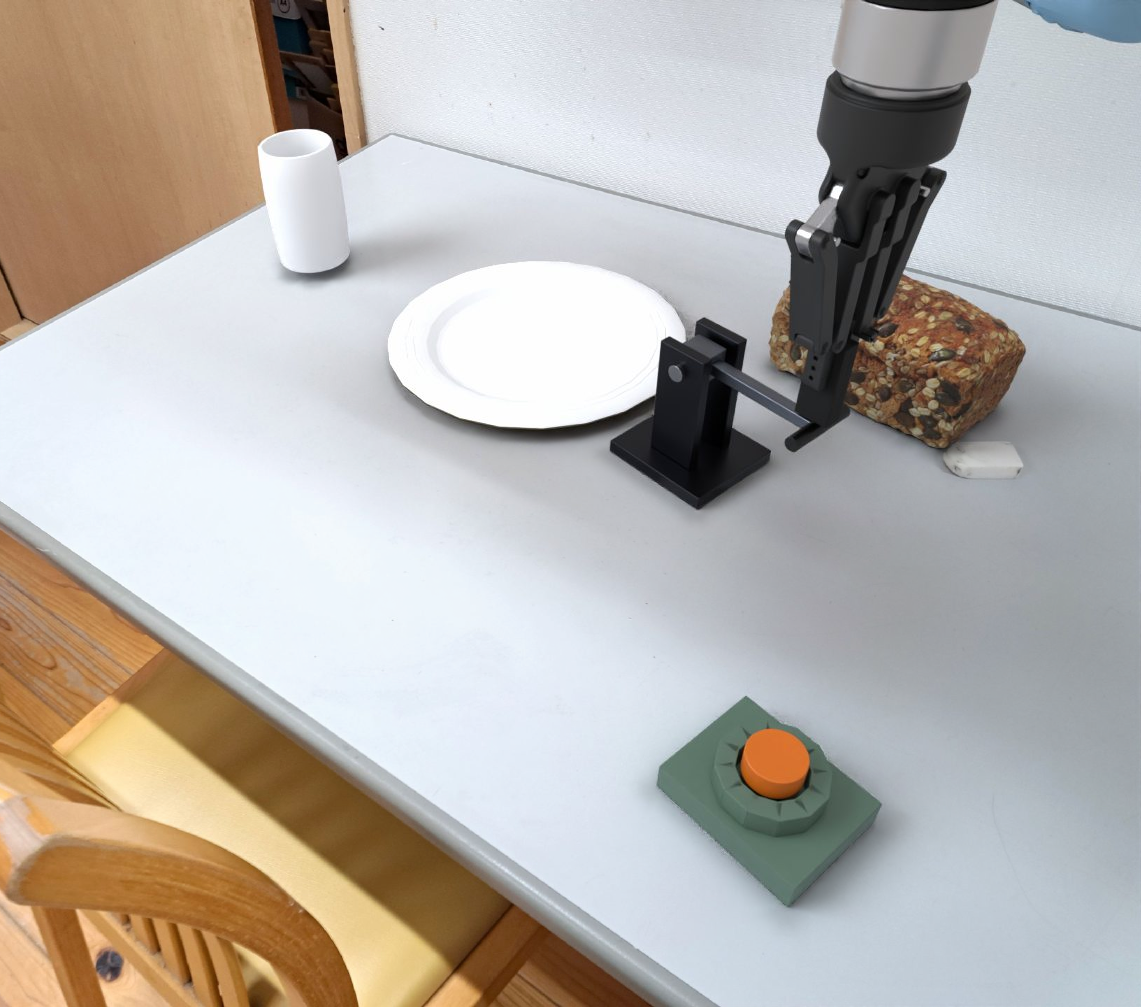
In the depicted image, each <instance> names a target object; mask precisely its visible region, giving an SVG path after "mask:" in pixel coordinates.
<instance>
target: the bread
mask: <svg viewBox="0 0 1141 1007" xmlns="http://www.w3.org/2000/svg"><path fill="white" fill-rule="evenodd" d="M789 309H790V280H788V286H787V287H786V289H785V290H783V291H782V296H781V297H780V299H779V300H778V302H777V305H776V307H775V309H774V312H773V315H772V317H771V321H772V322H771V323H772V325H771V328H770V338H769V340H768V343H767V344H768V346H769V356H770V357H769V358H770V362H771V363H772V364H773V365H774V366H775V367H776V368H777V369H778V371H779V372H786V371H787V372H789V373H791V374H792V375H794V376H796V377H797V378H798V379H800V380H801V379H802V374H803V371H804V366H805V361H806V356H807V352H808V349H806V348H804V347H802V346H800V345H798V344H796V343H794V342H792V341H790V340H789ZM870 327H872V328H874V329H877V330H879V331H880V333H879V335H878V337H877V338H876V340H875V341H874V342H872V343H869V342H867V341H865V340H863V339H861V338H860V339H859V346H858V350H857V354H856V358H855V361H854V365H853V369H852V373H851V376H850V380H849V384H848V388H847V391H846V395H845V399H844V403H845V404H846V405H847V406H848V407H849V408H850V409H853V410H855V411H856V412H858V413H860V414H862V415H863V416H866V417H868V418H870V419H872V420H874V422H877V423H880V424H885V425H887V426H890V427H892V428H893V429H895V430H897V429H899V430H900V431H901V432H902V433H903V434H907V435H912V436H913V437H915V438H917V439H918V440H920V441H923V442H924V443H925V444H927V445H928V446H929V447H933V448H937V449H938V448H939V449H945V448H949V446H951V444H952V443H953V442H956V441H959V439H961V438H962V437H963V435H964V434H965V433H966V432H967V430H968V429H970V428H972V427H973V426H974V425H975V424H976V423H977V422H981V421H983V420H984V419H985V418H986V417H988V415H990V414H991V413H993V412H994V410H995V409H996V408H997V407H998V406H999V404H1000V403H1001V401H1002V400H1003V398H1004V397H1005V395H1006V394H1007V392H1008V391H1009V390H1010V388H1011V385H1012V383H1013V381H1014V380H1015V377H1016V375H1017V372H1018V370H1019V367H1020V366H1021V364H1022V363H1023V359H1024V357H1025V355H1026V353H1027V349H1026V345H1025V344H1024V342H1023V341H1022V340H1021V338H1020V337H1019V333H1018V332H1016V331H1015V330H1013V329H1011V328H1010V327H1009V326H1008V324H1007V323H1006V322H1005V321H1003V319H1001V318H996V317H995V316H993V315H991V314H990V313H989V312H987V311H984V310H983V309H981V308H980V307H978V306H976V305H975V304H973V303H971V302H969V301H968V300H967V299H964V298H963V297H961V296H960V295H957V294H955V293H952V292H950V291H948V290H945V289H941V288H938V287H935V286H933V285H930V284H928V283H927V282H924V281H923V282H922V281H920V280H918V279H913V278H912V277H910V276H908V275H907V274H904V273H903V274H902V277H901V279H900V282H899V284H898V287H897V289H896V291H895V294H894V296H893V299H892V301H891V304H890V306H889V309H888V311H887V313H886V315H885V316H884V317H883V318H882V319H880V320H878V319H876V318H873V319H872V322H871V326H870Z"/></svg>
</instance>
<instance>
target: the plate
mask: <svg viewBox="0 0 1141 1007" xmlns="http://www.w3.org/2000/svg"><path fill="white" fill-rule="evenodd" d="M668 336H670V337H672V338H674V339H676V340H678V341H679V342H681V343H684V342H685V341H687V338H686V328H685V326H684V324H683V322H682V320H681V318H680V316H679V315H678V313H677V311H676V309H675V307H673V306H672V305H671V304H670V303H669V302H668V301H667V300H665V299H664V298H663V297H662V296H661V295H660V294H659V293H658V292H657V291H656V290H654V289H652V288H651V287H648V286H647V285H645V284H643V283H641V282H639V281H637V280H636V279H634V278H633V277H630V276H628V275H624V274H621V273H619V272H615V271H612V270H609V269H605V268H602V267H599V266H595V265H588V264H582V263H581V264H580V263H575V262H570V261H569V262H568V261H553V260H552V261H550V260H549V261H548V260H527V261H517V262H507V263H500V264H492V265H489V266H485V267H481V268H477V269H473V270H469V271H466V272H461V273H460V274H458V275H455V276H453V277H450V278H449V279H446V280H444V281H441V282H440V283H437V284H434V285H432V286H431V287H430V288H428V289H427V290H425V291H424V292H423V293H421V294H420V295H418V296H417V297H416V298H414V299H412V300H411V301H410V302H409V303H408V304H407V306H406V307H405V308H404V309H403V310H402V311H401V312H400V314H399V315H398V316H397V317H396V318H395V319H394V322H393V325H392V327H391V330H390V333H389V336H388V338H387V350H388V361H389V365H390V367H391V369H392V370H393V373H395V376H396V377H397V378H398V380H399V382H400V383H401V385H402V387H404V389H406V390H407V391H408V392H410V393H411V394H412V395H414V396H415V397H416V398H417V399H419V401H421V402H422V403H424V404H425V405H426V406H428V407H430V408H433V409H436V410H438V411H440V412H442V413H444V414H447V415H449V416H451V417H454V418H456V419H458V420H461V421H465V422H471V423H474V424H480V425H484V426H488V427H493V428H498V429H514V430H515V429H516V430H536V431H546V430H552V429H563V428H570V427H577V426H586V425H589V424H594V423H596V422H599V421H602V420H606V419H609V418H611V417H616V416H619V415H623V414H625V413H627V412H629V411H630V410H632V409H634V408H636V407H637V406H640V405H641V404H643V403H645V402H647V401H648V400H650V399H652V398H653V397H655V396H656V386H657V376H658V365H659V355H660V344H661V340H663V339H665V338H667V337H668Z"/></svg>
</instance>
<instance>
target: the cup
mask: <svg viewBox="0 0 1141 1007" xmlns="http://www.w3.org/2000/svg"><path fill="white" fill-rule="evenodd" d="M257 154H258V162H259V171H260V177H261V184H262V190H263V195H264V199H265V200H264V201H265V204H266V209H267V214H268V218H269V221H270V222H269V223H270V226H271V230H272V234H273V238H274V242H275V246H276V249H277V252H278V257H279V259H280V263H281V264H282V266H283V267H284V268H286V269H287V270H289V271H292V272H295V273H301V274H314V273H321V272H326V271H329V270H332V269H334V268H336V267H339V266H340V265H342V264H344V262H346V260H347V259H348V258H349V257H350V254H351V252H350V251H351V250H350V238H349V237H350V236H349V228H348V227H349V226H348V218H347V211H346V202H345V196H344V188H343V183H342V177H341V173H340V168H339V163H338V158H337V155H336V151H335V147H334V142H333V139H332V137H331V136H330V135H329V134H328V133H325V132H324V131H321V130H319V129H311V128H310V129H309V128H299V129H298V128H296V129H288V130H284V131H280V132H277V133H274V134H271V135H270V136H268V137H266V138H264V139H263V140H262V141H261V142H260V144H259V145H258V146H257Z"/></svg>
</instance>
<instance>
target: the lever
mask: <svg viewBox="0 0 1141 1007" xmlns="http://www.w3.org/2000/svg"><path fill="white" fill-rule="evenodd" d="M683 344H685V345H687V346H689V347H690V348H692V349H694V350H696V351H698V352H700V353H701V354H703V355H705V356H707V357H709V358H711V359H712V365H711V372H710V379H709V381H710V380H712V379H714V378H716V379H718V380H720V381H721V382H723V383H725V384H726V385H728V386H730V387H732V388H733V389H735V390H737V391H738V393H739V394H742V395H743V396H745V397H747V398H748V399H750V400H752V401H754V402H755V403H757V404H759V405H760V406H762V407H764V408H765V409H767V410H769V411H770V412H771V413H773V414H776V415H777V416H778V417H780V418H782V419H783V420H785V421H787V422H789V423H790V424H792V425H793V426H796V427H797V428H798V429H797V430H796V431H794V432H793V433H791V434H790V435H788V436H786V437H785V438H784V441H783V445H784V447H785V449H786V450H787V451H789V452H790V453H796V452H798V451H799V450H801V449H803V448H804V447H805V446H807V445H808V444H810V443H811V442H814V440H816V439H817V438H819V437H821V436H822V435H823V434H824V433H826V432H828V431H829V430H830V429H832V428H834V427H835V426H836V425H838V424H840V423H841V422H842V421H844V420H845V419H847V418H848V417H849V416H850V415H851V408H850V407H849V406H847V405H846V404H845V403H843V406H842V410H841V414H840V418H839V420H838V421H836V422H835V423H833V424H832V425H830V426H829V427H828V428H824V427H822V426H820V425H818V424H817V423H815V422H813V421H811V420H809V419H808V418H806V417H804V416H802V415H800V414H799V413H797V412H795V406H796V402H795V401H794V400H792V399H790V398H788V397H787V396H785V395H783V394H782V393H779V392H778V391H777V390H774V389H773V388H771V387H770V386H768V385H766V384H764V383H762V382H760V381H759V380H757V379H756V378H754V377H752V376H750V375H749V374H747V373H745V372H744V371H742V372H741V371H740V370H738V369H736V368H735V367H733V366H731V365H729V364H728V363H726V362H724V359H725V354H726V348H724V347H722V346H720V345H719V344H717V343H715V342H713V341H711V340H710V339H708V338H706V337H704V336H703V335H701V334H698V335H696V336H694V335H693V336H692V337H691V338H689V339H686V341H685V342H684V343H683Z"/></svg>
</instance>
